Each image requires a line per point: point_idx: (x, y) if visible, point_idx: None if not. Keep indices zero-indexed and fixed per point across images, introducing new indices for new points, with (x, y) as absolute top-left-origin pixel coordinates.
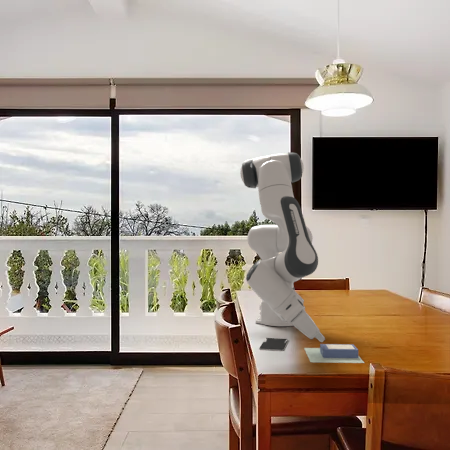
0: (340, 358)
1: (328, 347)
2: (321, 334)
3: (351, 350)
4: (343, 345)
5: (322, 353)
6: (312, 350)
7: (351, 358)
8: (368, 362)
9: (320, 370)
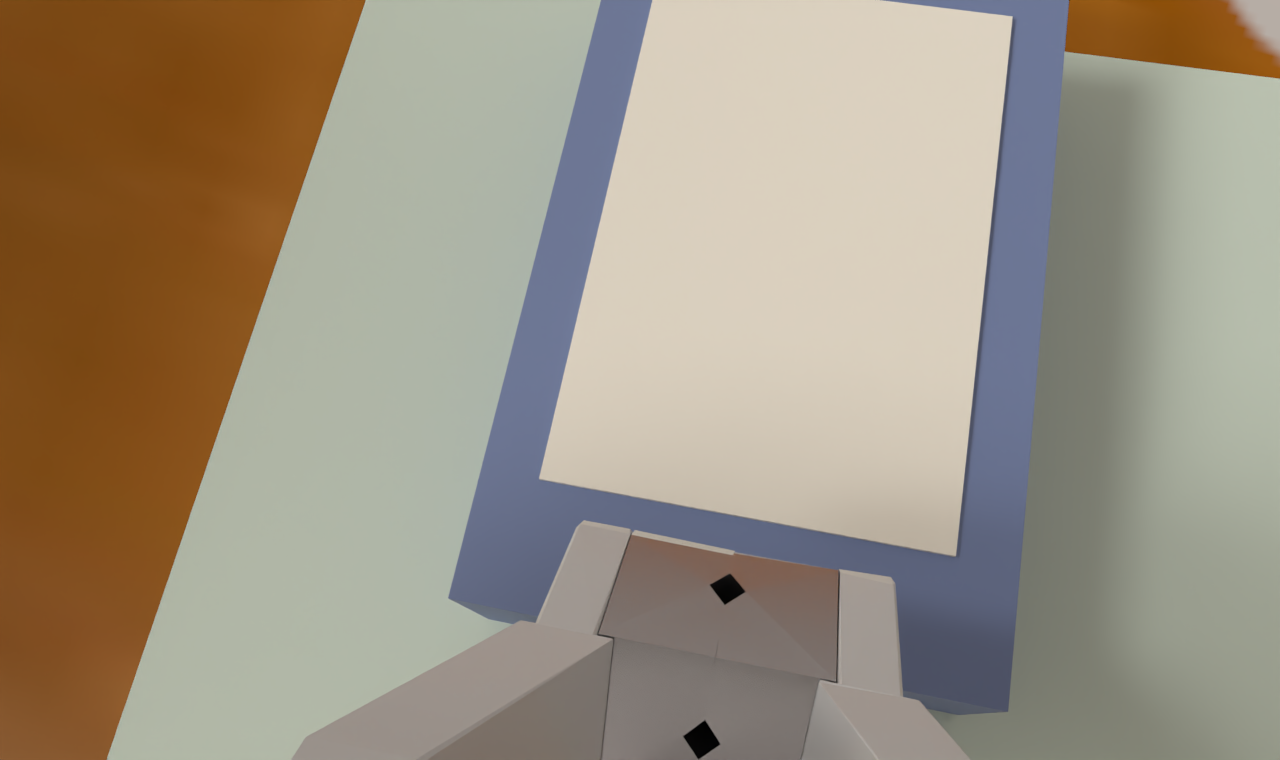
0: None
1: (839, 516)
2: (901, 690)
3: (1055, 105)
4: (695, 132)
5: None
6: None
7: None
8: (1188, 7)
9: None
